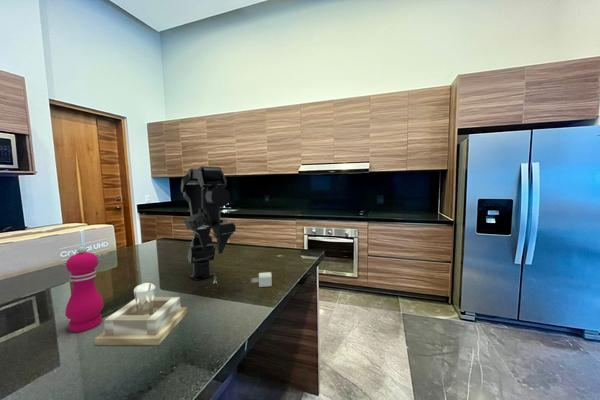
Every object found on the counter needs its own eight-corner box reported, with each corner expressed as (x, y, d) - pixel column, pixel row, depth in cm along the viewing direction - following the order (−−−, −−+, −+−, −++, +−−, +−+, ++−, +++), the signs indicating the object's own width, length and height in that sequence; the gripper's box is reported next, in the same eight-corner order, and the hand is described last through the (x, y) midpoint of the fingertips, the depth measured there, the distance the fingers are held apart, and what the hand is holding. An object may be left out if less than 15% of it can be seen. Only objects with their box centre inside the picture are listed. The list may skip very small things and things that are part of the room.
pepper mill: (81, 318, 66) (77, 243, 65) (110, 316, 67) (107, 242, 65) (57, 334, 59) (52, 250, 58) (90, 332, 59) (86, 250, 58)
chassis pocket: (136, 312, 69) (136, 294, 68) (187, 312, 69) (187, 294, 68) (95, 345, 55) (93, 323, 54) (158, 345, 55) (157, 323, 54)
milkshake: (141, 328, 58) (139, 287, 58) (132, 321, 62) (130, 281, 61) (161, 320, 62) (160, 280, 61) (151, 313, 65) (150, 276, 65)
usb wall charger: (271, 286, 86) (271, 275, 86) (251, 288, 85) (251, 276, 85) (271, 282, 90) (271, 271, 90) (251, 283, 89) (251, 272, 89)
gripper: (172, 204, 82) (174, 251, 83) (204, 208, 70) (205, 262, 71) (204, 202, 91) (205, 245, 91) (236, 205, 79) (237, 253, 80)
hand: (212, 251), depth 83 cm, fingers open, 9 cm apart
